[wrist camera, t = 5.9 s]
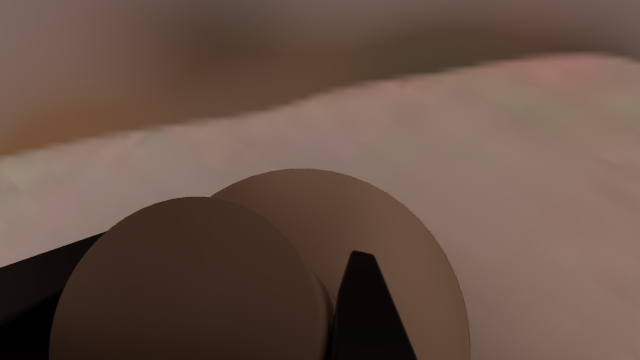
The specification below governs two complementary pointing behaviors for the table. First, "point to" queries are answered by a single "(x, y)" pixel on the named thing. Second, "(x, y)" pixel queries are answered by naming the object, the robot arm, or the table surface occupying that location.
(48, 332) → the robot arm
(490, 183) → the table surface
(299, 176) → the post with round base
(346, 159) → the table surface
